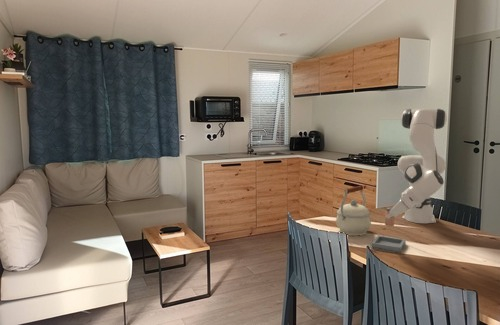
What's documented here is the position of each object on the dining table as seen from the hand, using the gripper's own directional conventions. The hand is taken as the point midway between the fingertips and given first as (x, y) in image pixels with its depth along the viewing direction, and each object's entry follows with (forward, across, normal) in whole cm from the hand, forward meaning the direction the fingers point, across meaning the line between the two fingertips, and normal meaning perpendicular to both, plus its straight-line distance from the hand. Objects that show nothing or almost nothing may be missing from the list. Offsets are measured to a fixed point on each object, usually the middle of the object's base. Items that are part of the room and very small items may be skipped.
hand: (388, 215), depth 182 cm
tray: (+10, 0, +11) cm, 15 cm away
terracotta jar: (+3, 0, +4) cm, 4 cm away
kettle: (+25, -15, -4) cm, 30 cm away
